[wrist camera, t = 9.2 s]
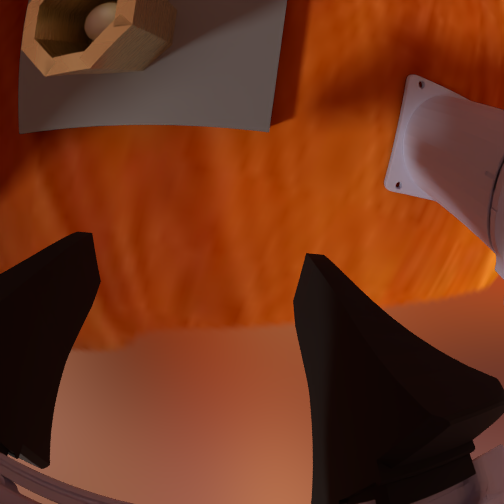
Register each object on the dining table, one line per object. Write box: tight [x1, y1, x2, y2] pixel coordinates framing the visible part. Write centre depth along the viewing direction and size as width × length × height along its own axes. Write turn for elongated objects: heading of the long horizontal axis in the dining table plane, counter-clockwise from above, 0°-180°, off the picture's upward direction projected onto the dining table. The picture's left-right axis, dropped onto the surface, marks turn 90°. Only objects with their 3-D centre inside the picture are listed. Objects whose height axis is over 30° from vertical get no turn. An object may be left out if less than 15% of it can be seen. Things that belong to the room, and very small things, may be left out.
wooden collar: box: [21, 0, 177, 77], centre depth 9 cm, size 5×5×6 cm
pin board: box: [18, 0, 287, 134], centre depth 10 cm, size 16×11×6 cm
